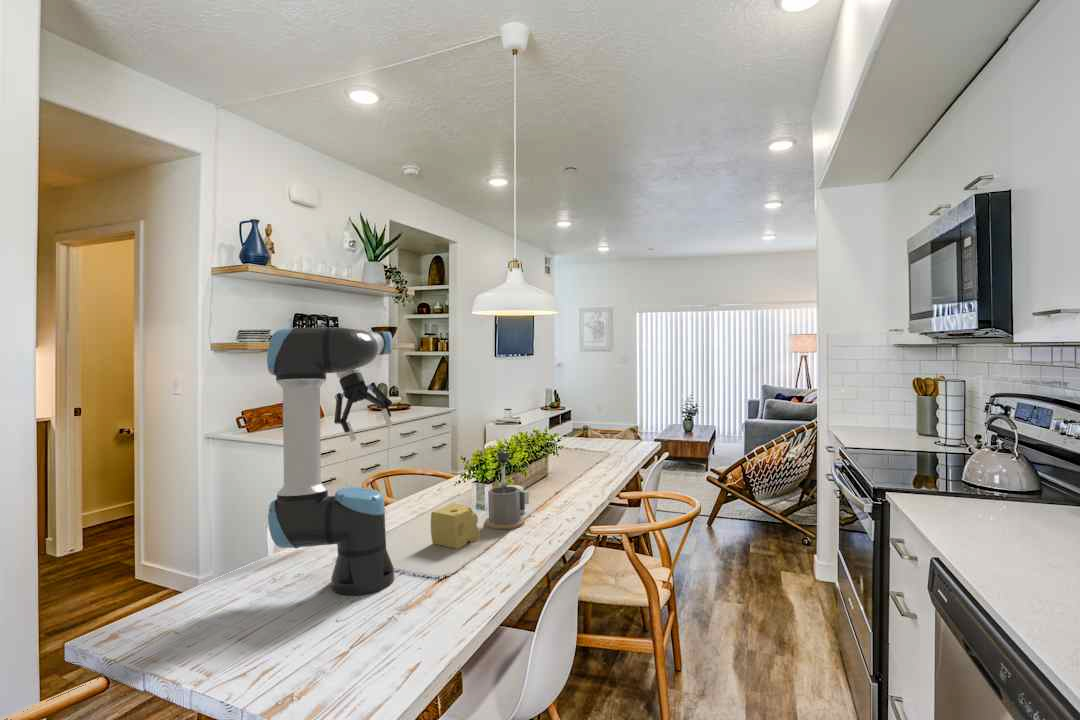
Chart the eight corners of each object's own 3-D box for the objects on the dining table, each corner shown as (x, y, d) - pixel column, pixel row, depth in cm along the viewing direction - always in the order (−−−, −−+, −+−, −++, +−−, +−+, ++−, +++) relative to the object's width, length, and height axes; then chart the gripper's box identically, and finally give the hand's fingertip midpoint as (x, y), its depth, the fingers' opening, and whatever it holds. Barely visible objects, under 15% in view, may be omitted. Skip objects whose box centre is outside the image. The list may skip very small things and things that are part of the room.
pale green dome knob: (533, 513, 195) (532, 487, 194) (508, 518, 190) (507, 491, 190) (523, 508, 201) (522, 483, 201) (498, 512, 197) (497, 487, 196)
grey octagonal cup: (532, 524, 182) (531, 491, 182) (495, 532, 176) (494, 497, 175) (514, 514, 194) (513, 482, 193) (478, 521, 187) (477, 488, 187)
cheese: (479, 539, 171) (478, 506, 170) (456, 550, 161) (455, 516, 161) (453, 533, 176) (452, 502, 176) (429, 544, 167) (428, 511, 167)
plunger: (517, 501, 183) (515, 452, 183) (499, 504, 180) (498, 455, 180) (508, 496, 189) (507, 449, 188) (491, 499, 186) (489, 451, 185)
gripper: (378, 368, 201) (400, 423, 199) (310, 388, 184) (333, 448, 183) (386, 362, 195) (409, 419, 194) (316, 382, 179) (341, 444, 177)
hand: (372, 433), depth 188 cm, fingers open, 13 cm apart
